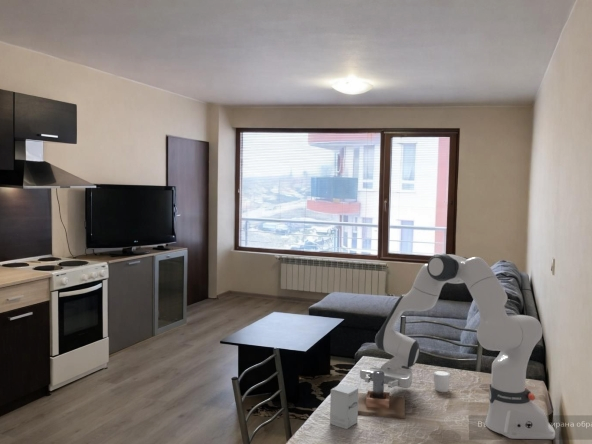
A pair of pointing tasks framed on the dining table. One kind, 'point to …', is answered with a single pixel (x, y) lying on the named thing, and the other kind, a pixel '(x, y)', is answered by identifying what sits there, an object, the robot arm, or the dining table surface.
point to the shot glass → (441, 381)
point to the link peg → (378, 384)
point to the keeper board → (381, 405)
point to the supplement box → (344, 406)
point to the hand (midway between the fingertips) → (378, 382)
